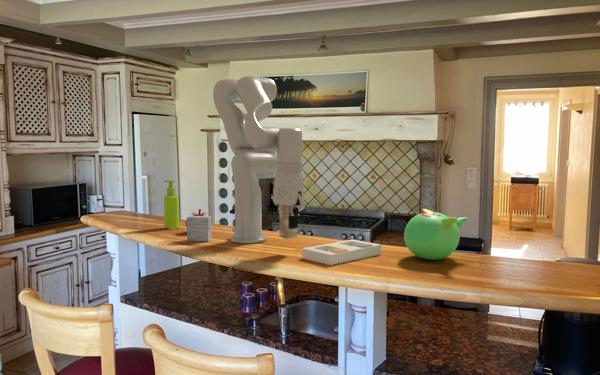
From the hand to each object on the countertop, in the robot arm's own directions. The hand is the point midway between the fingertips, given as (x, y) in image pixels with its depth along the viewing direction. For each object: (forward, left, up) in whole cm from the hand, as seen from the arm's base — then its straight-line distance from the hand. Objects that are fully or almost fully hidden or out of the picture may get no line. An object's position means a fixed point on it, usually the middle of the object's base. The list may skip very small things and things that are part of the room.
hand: (288, 226), depth 149 cm
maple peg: (0, 0, -3) cm, 3 cm away
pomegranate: (-53, -2, -9) cm, 54 cm away
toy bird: (+34, +28, -9) cm, 45 cm away
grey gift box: (-38, -10, -9) cm, 40 cm away
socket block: (+14, +10, -8) cm, 19 cm away
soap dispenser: (-71, -5, -9) cm, 72 cm away
